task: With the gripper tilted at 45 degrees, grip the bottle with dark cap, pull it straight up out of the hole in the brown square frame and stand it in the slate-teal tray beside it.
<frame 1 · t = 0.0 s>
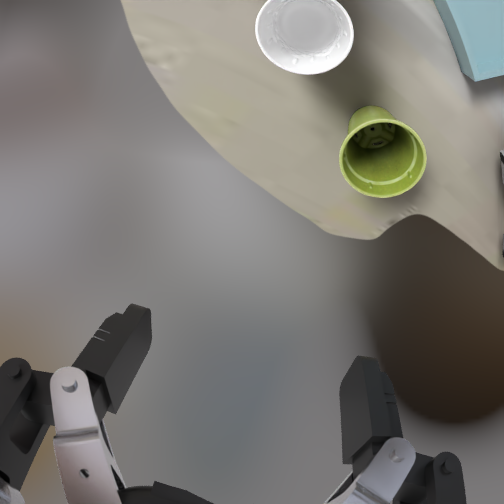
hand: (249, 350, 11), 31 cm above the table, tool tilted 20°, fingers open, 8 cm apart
plant pot: (372, 126, 34), on the table
white cup: (307, 23, 26), on the table
parts tray: (489, 5, 16), on the table
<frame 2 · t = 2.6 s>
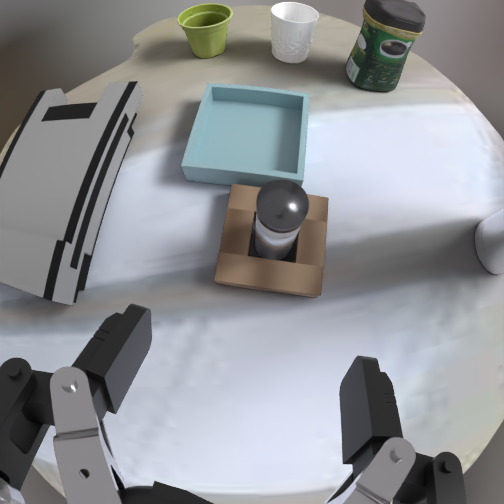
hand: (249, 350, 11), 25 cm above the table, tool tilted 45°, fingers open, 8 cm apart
bottle with dark cap: (277, 226, 32), in the brown square frame
game console: (62, 191, 40), on the table
plant pot: (209, 50, 48), on the table
coffee jar: (369, 79, 46), on the table
white cup: (289, 54, 48), on the table
parts tray: (250, 141, 42), on the table
brown square frame: (273, 242, 38), on the table
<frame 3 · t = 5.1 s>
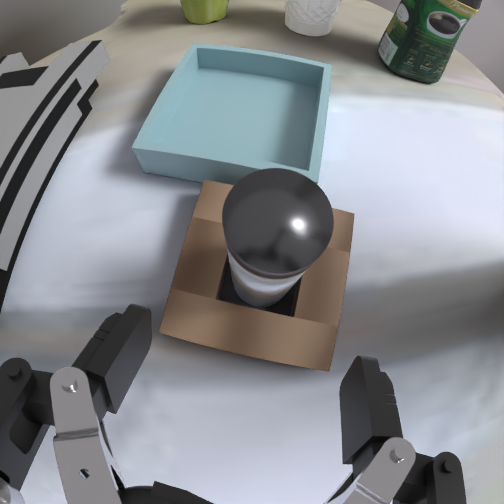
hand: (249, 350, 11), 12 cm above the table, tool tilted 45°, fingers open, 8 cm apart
bottle with dark cap: (267, 256, 18), in the brown square frame
game console: (0, 179, 27), on the table
plant pot: (206, 16, 35), on the table
coffee jar: (405, 66, 33), on the table
white cup: (307, 26, 35), on the table
parts tray: (242, 122, 28), on the table
brown square frame: (261, 277, 24), on the table
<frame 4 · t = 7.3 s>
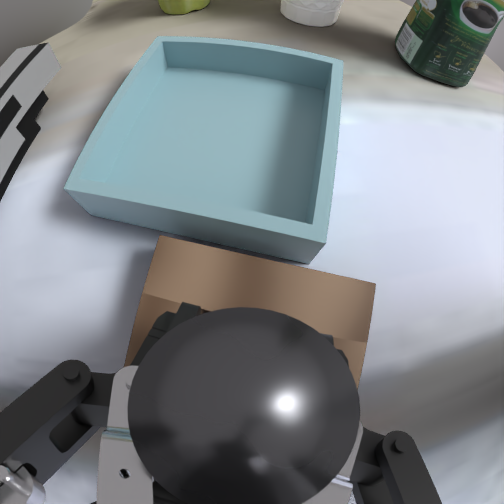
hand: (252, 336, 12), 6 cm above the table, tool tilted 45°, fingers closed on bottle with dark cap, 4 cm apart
bottle with dark cap: (242, 383, 11), in the brown square frame, touching gripper
plant pot: (185, 6, 28), on the table
coffee jar: (428, 65, 26), on the table
white cup: (308, 15, 27), on the table
parts tray: (221, 141, 21), on the table
brown square frame: (242, 370, 17), on the table
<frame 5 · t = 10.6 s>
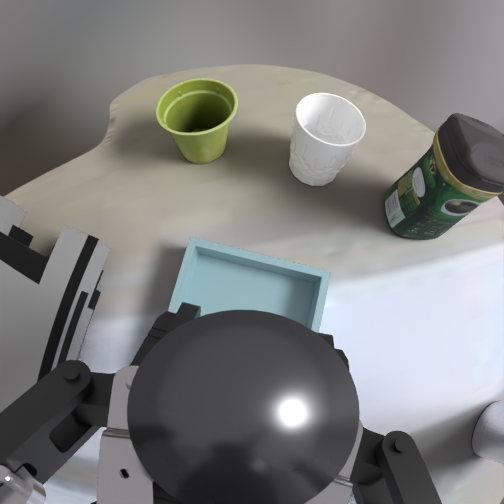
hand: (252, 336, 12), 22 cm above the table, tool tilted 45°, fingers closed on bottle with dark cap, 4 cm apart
bottle with dark cap: (242, 385, 11), point 22 cm above the table, touching gripper
game console: (24, 338, 32), on the table
plant pot: (203, 147, 40), on the table
coffee jar: (411, 214, 38), on the table
white cup: (313, 165, 40), on the table
parts tray: (242, 327, 33), on the table
when the fingers open (8 cm above the table, at t = 13.9 s): bottle with dark cap drops 1 cm, resting on parts tray.
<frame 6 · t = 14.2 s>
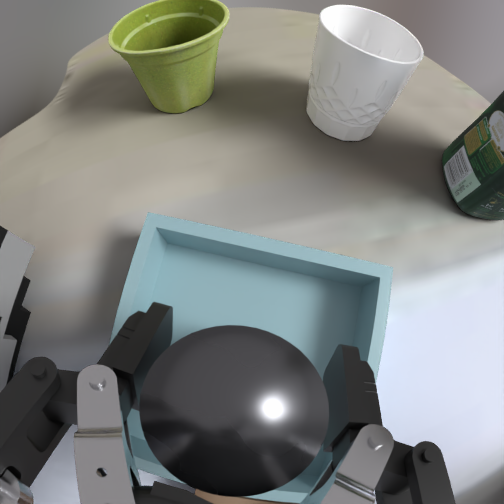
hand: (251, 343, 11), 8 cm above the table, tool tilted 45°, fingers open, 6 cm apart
bottle with dark cap: (238, 383, 12), in the parts tray, point 7 cm above the table
plant pot: (181, 93, 26), on the table
coffee jar: (473, 186, 24), on the table
white cup: (340, 115, 26), on the table
parts tray: (242, 366, 19), on the table
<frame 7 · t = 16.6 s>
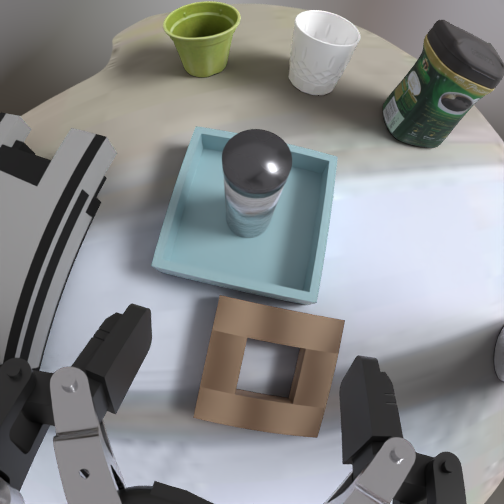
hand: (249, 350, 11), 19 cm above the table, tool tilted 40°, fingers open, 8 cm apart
bottle with dark cap: (251, 193, 25), in the parts tray, point 7 cm above the table
game console: (14, 260, 30), on the table
plant pot: (205, 65, 37), on the table
coffee jar: (408, 126, 37), on the table
white cup: (311, 79, 37), on the table
parts tray: (249, 218, 32), on the table
brown square frame: (267, 368, 29), on the table
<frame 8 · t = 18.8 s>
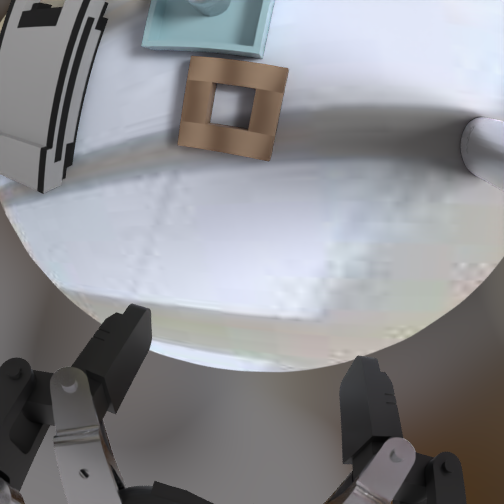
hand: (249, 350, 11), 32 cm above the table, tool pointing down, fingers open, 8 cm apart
game console: (50, 78, 36), on the table
parts tray: (216, 3, 30), on the table
brown square frame: (233, 105, 36), on the table
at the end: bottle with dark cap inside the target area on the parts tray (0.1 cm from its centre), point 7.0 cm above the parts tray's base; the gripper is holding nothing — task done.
